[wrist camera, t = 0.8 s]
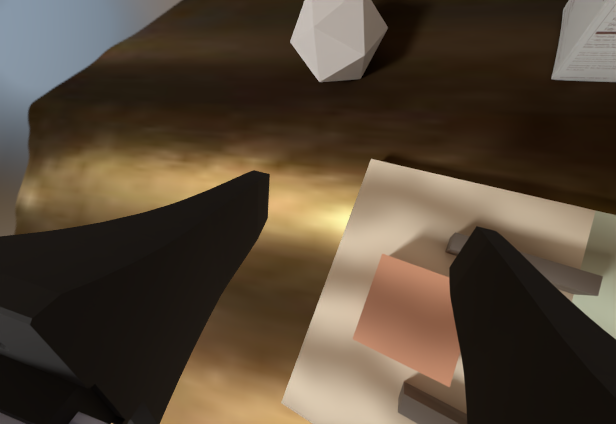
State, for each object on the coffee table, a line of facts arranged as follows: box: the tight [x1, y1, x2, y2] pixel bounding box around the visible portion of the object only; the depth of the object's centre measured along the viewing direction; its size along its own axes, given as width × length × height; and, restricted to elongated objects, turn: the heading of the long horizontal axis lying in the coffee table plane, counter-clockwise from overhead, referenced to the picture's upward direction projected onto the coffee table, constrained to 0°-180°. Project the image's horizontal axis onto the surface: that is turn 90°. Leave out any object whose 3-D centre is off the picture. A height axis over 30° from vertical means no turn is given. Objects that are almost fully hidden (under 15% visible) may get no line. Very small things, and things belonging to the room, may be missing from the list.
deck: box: [281, 159, 616, 424], centre depth 17 cm, size 22×35×4 cm, turn 68°
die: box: [290, 0, 388, 82], centre depth 27 cm, size 8×9×10 cm
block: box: [353, 254, 460, 387], centre depth 19 cm, size 6×6×4 cm
